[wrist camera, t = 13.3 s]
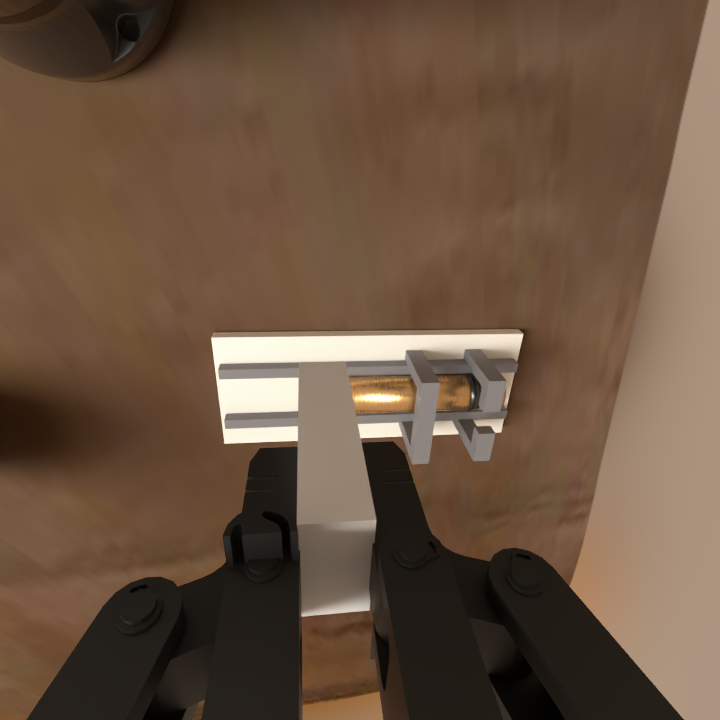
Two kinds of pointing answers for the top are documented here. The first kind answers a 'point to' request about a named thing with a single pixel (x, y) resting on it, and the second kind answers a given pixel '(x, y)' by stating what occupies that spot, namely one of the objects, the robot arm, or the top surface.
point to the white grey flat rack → (366, 358)
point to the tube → (413, 393)
